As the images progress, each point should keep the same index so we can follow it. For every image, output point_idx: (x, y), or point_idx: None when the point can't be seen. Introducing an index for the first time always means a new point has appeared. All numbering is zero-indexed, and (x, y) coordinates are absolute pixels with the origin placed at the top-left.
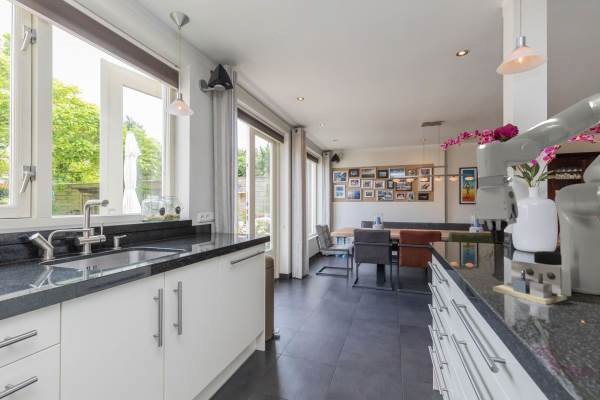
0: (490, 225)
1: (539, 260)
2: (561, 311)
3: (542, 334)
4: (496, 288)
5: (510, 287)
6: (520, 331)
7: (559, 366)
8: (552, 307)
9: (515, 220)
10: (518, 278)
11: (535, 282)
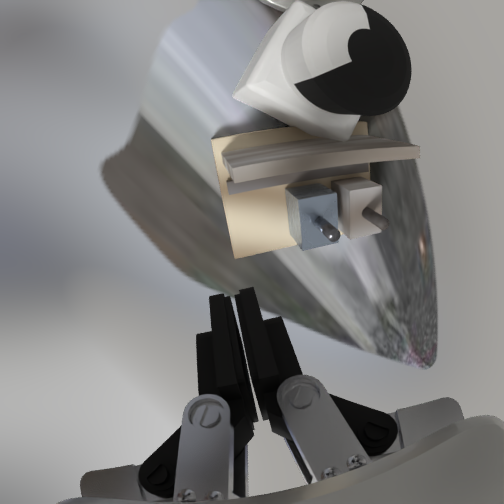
0: (237, 466)
1: (344, 113)
2: (393, 231)
3: (403, 335)
4: (247, 255)
5: (257, 208)
6: (387, 352)
7: (422, 360)
8: None
9: (456, 421)
10: (303, 225)
11: (357, 221)
